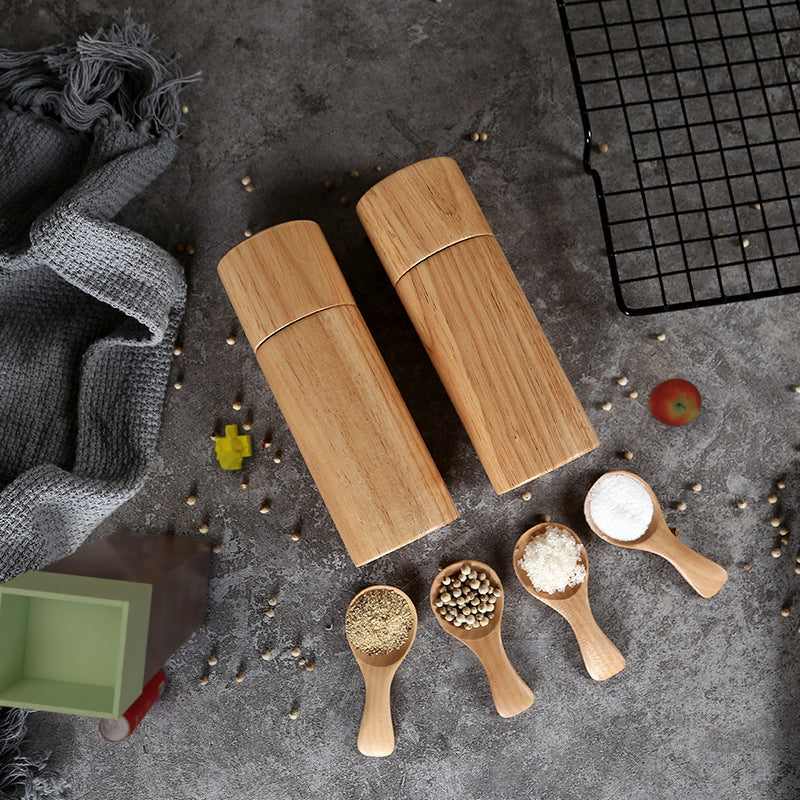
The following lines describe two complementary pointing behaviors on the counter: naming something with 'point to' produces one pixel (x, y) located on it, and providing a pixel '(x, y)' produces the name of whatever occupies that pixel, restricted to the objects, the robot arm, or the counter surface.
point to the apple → (675, 402)
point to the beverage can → (133, 711)
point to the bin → (72, 643)
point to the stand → (152, 582)
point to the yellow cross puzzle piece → (232, 448)
